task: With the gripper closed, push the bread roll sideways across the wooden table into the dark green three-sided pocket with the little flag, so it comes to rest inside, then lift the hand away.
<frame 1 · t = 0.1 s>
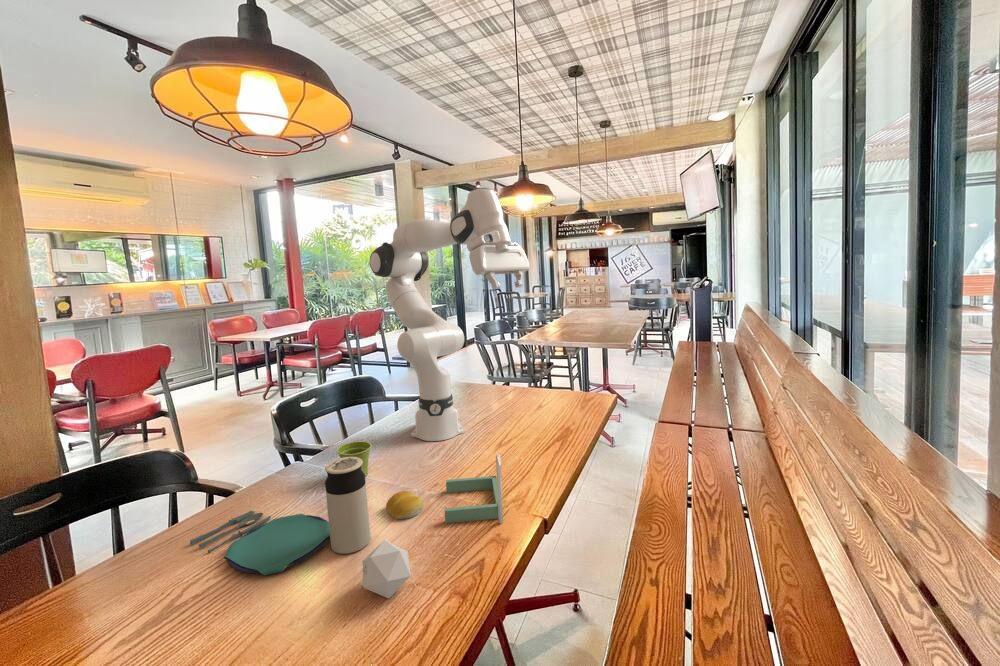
hand: (508, 287, 124), 52 cm above the table, tool tilted 20°, fingers open, 8 cm apart
green pocket: (470, 503, 108), on the table
bread roll: (404, 511, 107), on the table
plant pot: (356, 476, 126), on the table
travel mug: (351, 544, 94), on the table
cutlery set: (267, 543, 96), on the table
die: (388, 588, 80), on the table
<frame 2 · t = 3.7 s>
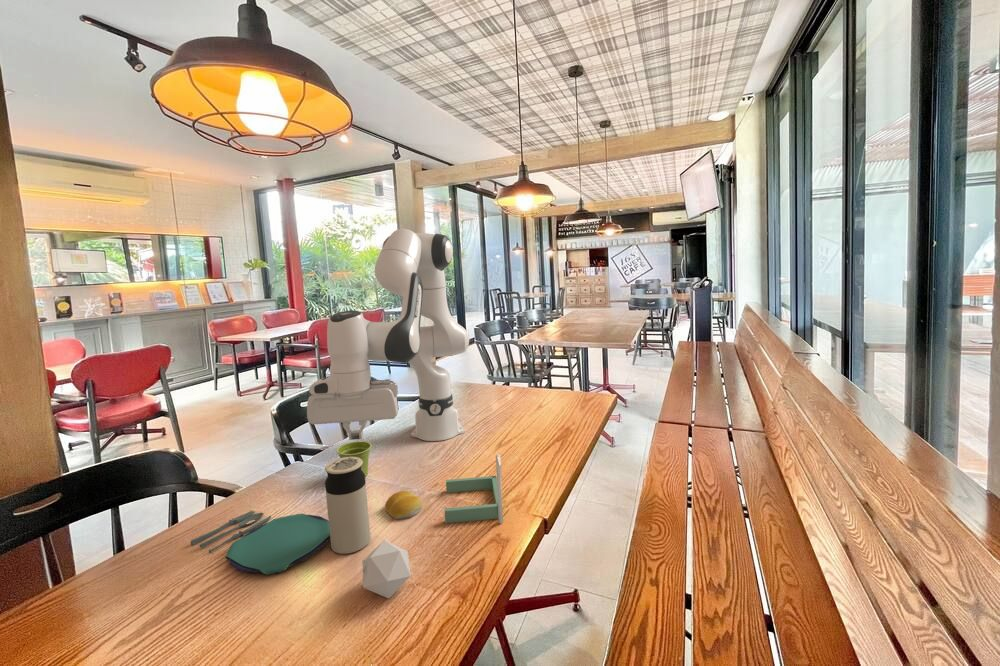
hand: (356, 438, 103), 19 cm above the table, tool pointing down, fingers closed
nothing on the table moved.
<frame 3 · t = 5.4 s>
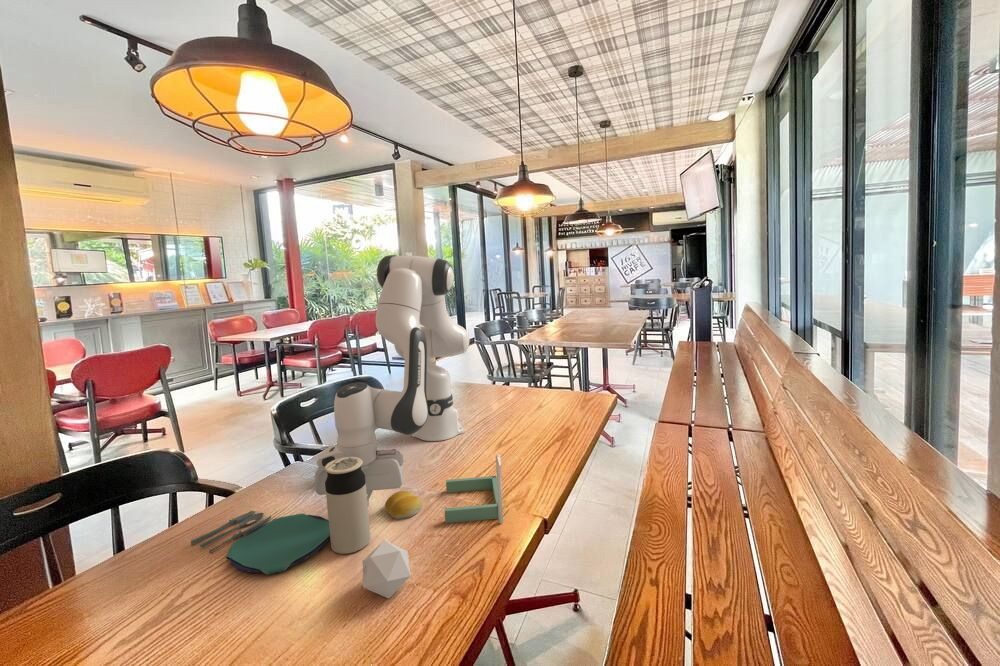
hand: (362, 506, 105), 2 cm above the table, tool pointing down, fingers closed
nothing on the table moved.
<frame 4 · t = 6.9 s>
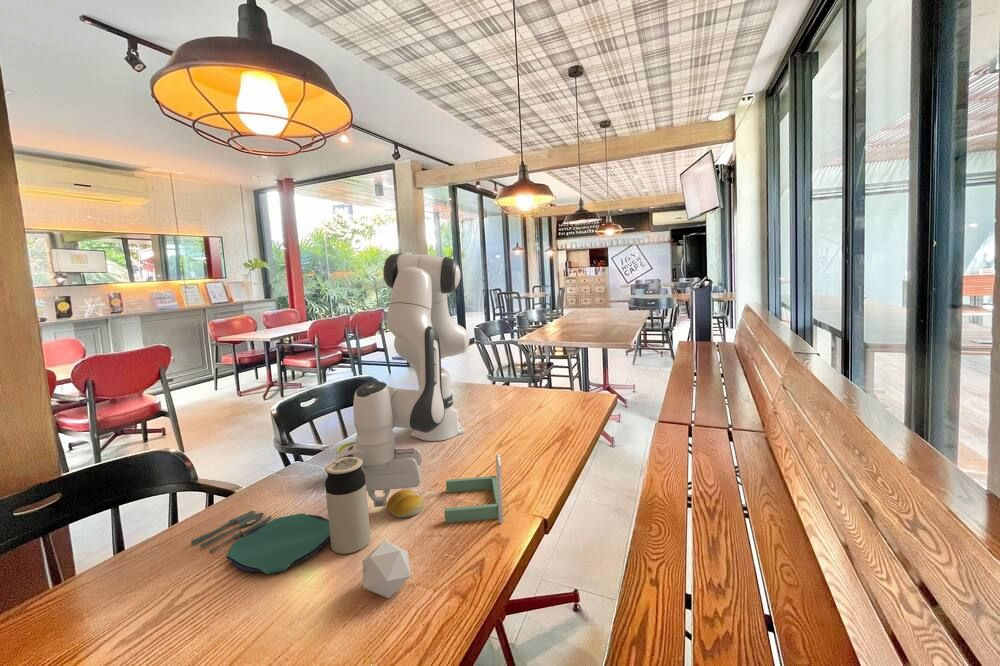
hand: (380, 505, 106), 2 cm above the table, tool pointing down, fingers closed
bread roll: (405, 509, 107), on the table, touching gripper
everything else where it was.
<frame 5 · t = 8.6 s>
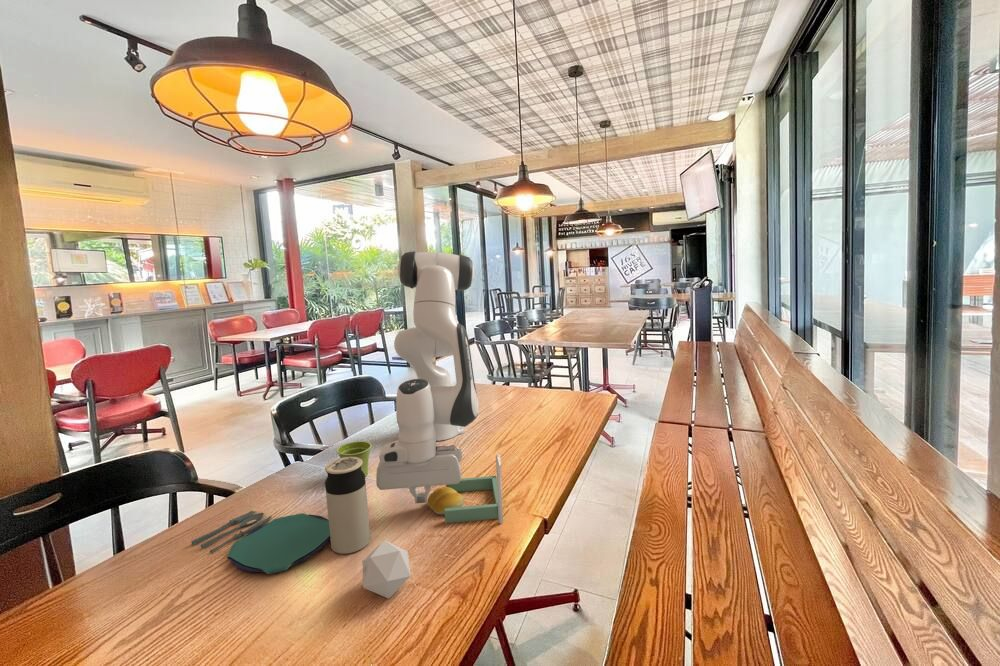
hand: (421, 501, 107), 2 cm above the table, tool pointing down, fingers closed
bread roll: (445, 506, 108), on the table, touching gripper
everything else where it was.
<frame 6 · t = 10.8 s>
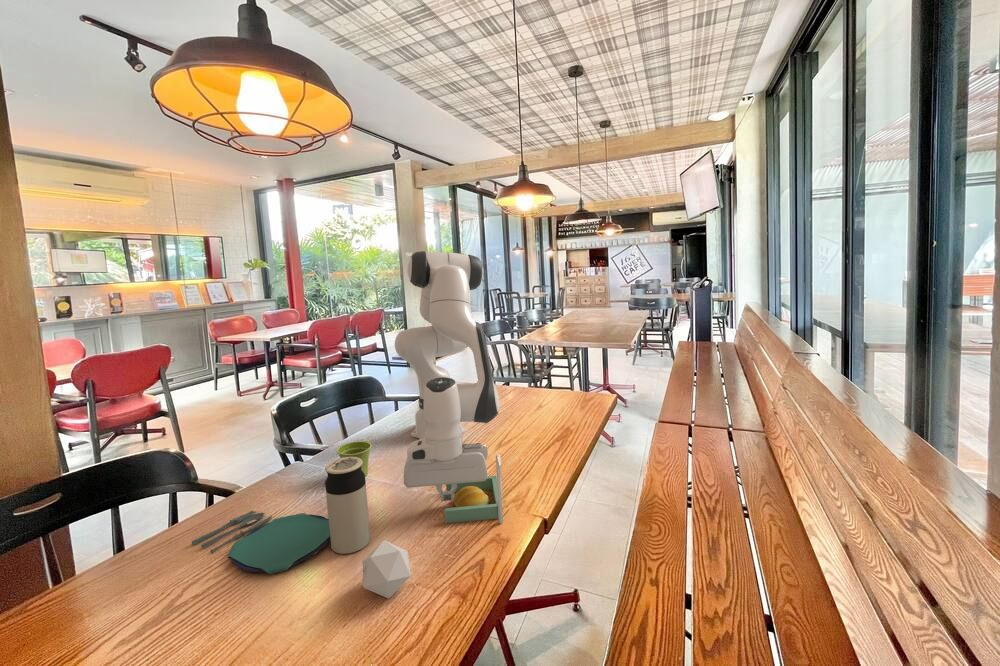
hand: (447, 499, 107), 2 cm above the table, tool pointing down, fingers closed
bread roll: (471, 506, 108), on the table
everything else where it was.
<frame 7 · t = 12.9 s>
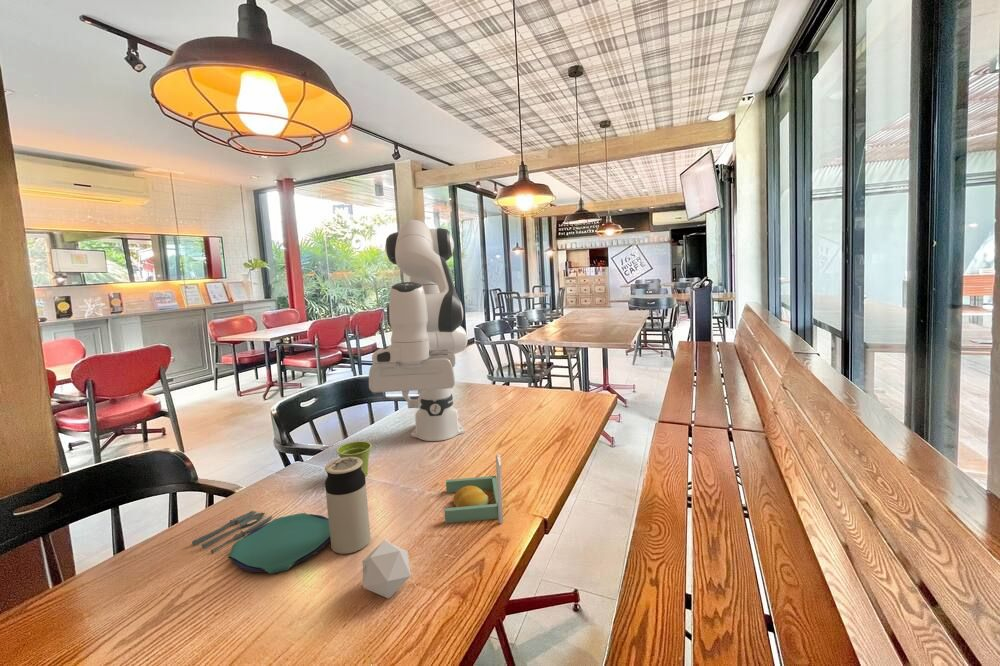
hand: (414, 407, 106), 25 cm above the table, tool pointing down, fingers closed
nothing on the table moved.
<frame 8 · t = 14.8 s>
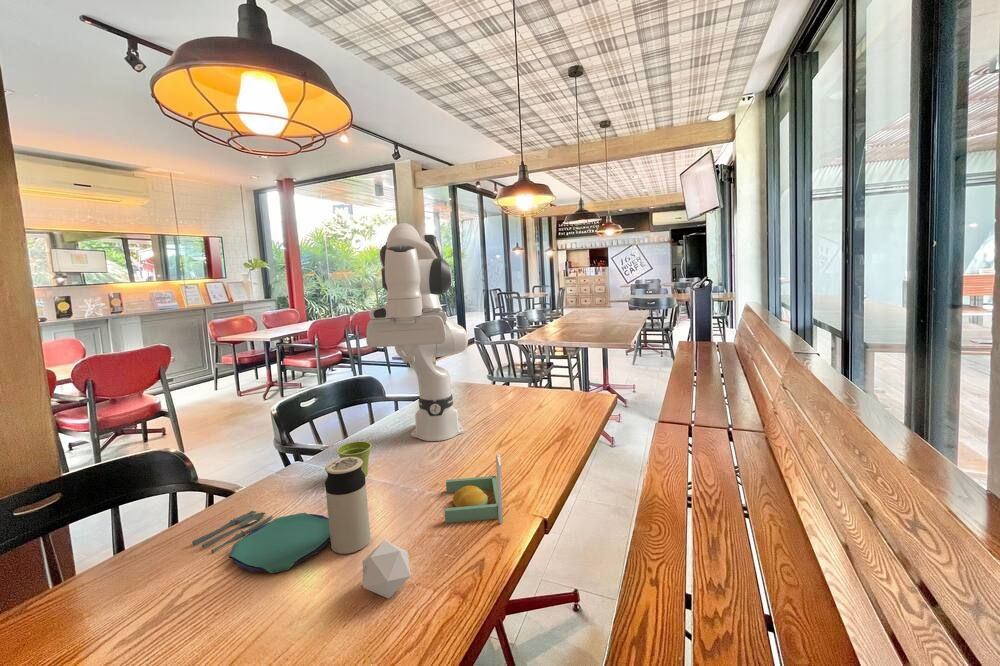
hand: (408, 362, 114), 34 cm above the table, tool pointing down, fingers closed
nothing on the table moved.
at the end: bread roll inside the target area on the green pocket (0.8 cm from its centre), point -0.5 cm above the green pocket's base; bread roll moved 16.0 cm from its start; the gripper is holding nothing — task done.
